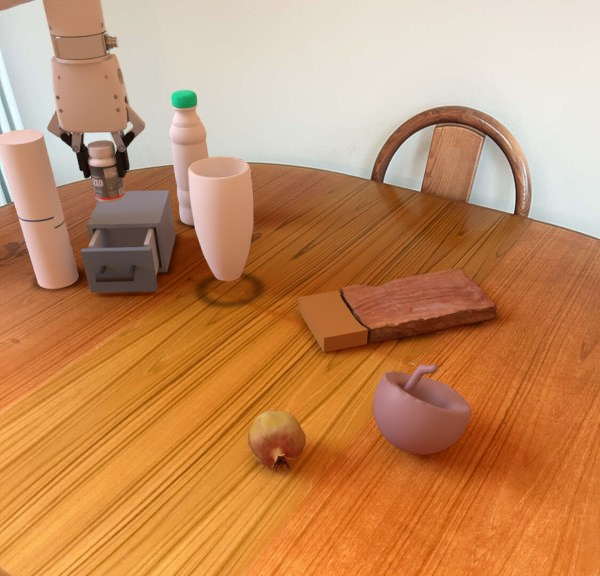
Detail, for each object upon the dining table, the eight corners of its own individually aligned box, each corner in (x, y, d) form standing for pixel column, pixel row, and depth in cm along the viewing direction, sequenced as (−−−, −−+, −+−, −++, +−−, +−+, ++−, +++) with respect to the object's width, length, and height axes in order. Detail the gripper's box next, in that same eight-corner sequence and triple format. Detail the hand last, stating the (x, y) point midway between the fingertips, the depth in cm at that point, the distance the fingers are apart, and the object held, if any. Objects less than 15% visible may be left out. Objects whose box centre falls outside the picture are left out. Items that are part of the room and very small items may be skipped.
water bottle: (220, 216, 138) (209, 89, 122) (203, 229, 133) (189, 99, 118) (192, 210, 141) (177, 85, 125) (173, 223, 136) (156, 94, 120)
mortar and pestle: (481, 441, 85) (498, 371, 77) (425, 490, 78) (437, 418, 71) (408, 399, 91) (417, 330, 84) (350, 440, 85) (355, 370, 78)
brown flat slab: (298, 311, 109) (297, 293, 107) (458, 282, 116) (461, 266, 114) (324, 354, 100) (324, 336, 98) (497, 320, 107) (501, 303, 105)
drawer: (153, 304, 110) (146, 262, 105) (85, 306, 109) (74, 264, 104) (166, 254, 123) (160, 215, 118) (105, 256, 123) (97, 216, 118)
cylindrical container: (31, 277, 119) (-12, 136, 103) (68, 265, 122) (32, 126, 106) (47, 293, 114) (5, 147, 98) (85, 279, 118) (50, 137, 102)
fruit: (236, 400, 82) (245, 454, 75) (289, 383, 82) (303, 435, 75) (253, 438, 87) (263, 492, 79) (302, 422, 87) (317, 475, 79)
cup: (257, 304, 111) (250, 179, 97) (196, 305, 111) (180, 180, 97) (260, 274, 119) (254, 154, 105) (203, 275, 119) (189, 155, 105)
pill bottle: (90, 196, 106) (78, 143, 100) (116, 188, 108) (106, 137, 103) (104, 205, 103) (93, 151, 98) (130, 197, 105) (121, 144, 100)
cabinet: (167, 272, 120) (159, 223, 114) (97, 274, 120) (86, 224, 113) (175, 236, 131) (169, 190, 125) (112, 238, 131) (102, 191, 125)
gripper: (145, 40, 95) (163, 165, 106) (27, 41, 94) (57, 167, 106) (137, 51, 89) (157, 183, 101) (11, 53, 89) (45, 185, 100)
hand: (105, 173), depth 103 cm, fingers closed on pill bottle, 4 cm apart
